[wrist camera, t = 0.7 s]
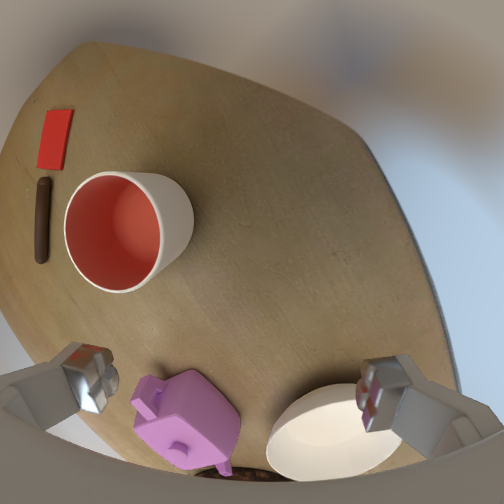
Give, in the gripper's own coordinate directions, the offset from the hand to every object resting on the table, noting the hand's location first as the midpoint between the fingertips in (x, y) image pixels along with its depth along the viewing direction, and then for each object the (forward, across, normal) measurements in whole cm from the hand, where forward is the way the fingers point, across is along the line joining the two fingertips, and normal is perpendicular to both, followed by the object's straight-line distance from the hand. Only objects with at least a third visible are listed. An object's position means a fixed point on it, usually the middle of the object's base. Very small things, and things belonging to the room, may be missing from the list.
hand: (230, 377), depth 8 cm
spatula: (+23, +28, -8) cm, 37 cm away
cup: (+23, +12, -2) cm, 26 cm away
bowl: (+23, -10, +25) cm, 35 cm away
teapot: (+23, +9, +24) cm, 34 cm away
